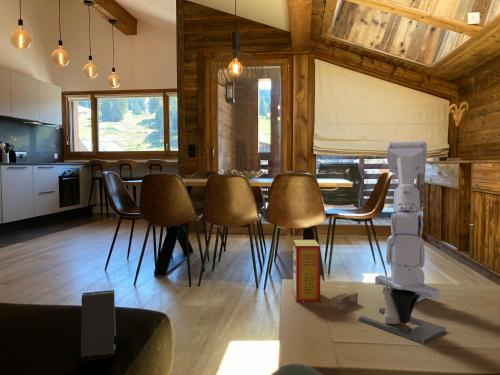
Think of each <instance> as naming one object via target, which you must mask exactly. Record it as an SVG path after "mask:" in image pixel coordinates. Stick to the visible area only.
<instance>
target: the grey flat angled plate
mask: <svg viewBox="0 0 500 375" xmlns="http://www.w3.org/2000/svg"><path fill="white" fill-rule="evenodd" d="M385 311H386V307H380V308H379V309H378V313H381V314H385ZM358 321H359V322H362V323H365V324H367V325H370V326H373V327H375V328H378V329H381V330H384V331H386V332H389V333H393V334H395V335H398V336H401V337H402V338H406V339H408V340H411V341H415V342H416V343H420V344H422V345H426V344H427V343H429V342H430V341H432V340H435V339H436V338H437V337H439V336H440V335H443V334H444V333H446V332H447V327H446V326H445V327H444V326H443V325H442V326H441V325H438V324H435V323H432V322H429V321H425V320H423V319H420V318H416V317H413V316H411V317H410V321H409V322H408V323H412V324H415V325H417V326H416V327H414V328H412V329H409V331H407V330H403V329H400V328H398V327H395V326H392V325H391V324H388V323H384V322H381V321H379V320H376V319H373V318H369V317H367V316H364V315H360V316H359V317H358Z"/></svg>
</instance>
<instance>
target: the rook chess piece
mask: <svg viewBox="0 0 500 375" xmlns="http://www.w3.org/2000/svg"><path fill="white" fill-rule="evenodd" d="M392 291H393V288H391V287H387V286H383V288H382V292H381V293H382V294H383V295H384V300H385V309H386V311H385V314H384V313H383V314H384V315H383V317H384V320H383V321H384V322H385V324H387V325H399V324H402V323H401V320H400V316H399V312H398V309H397V306H396V304H395V302H394V300H393V298H392V296H391V292H392Z"/></svg>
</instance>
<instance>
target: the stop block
mask: <svg viewBox="0 0 500 375" xmlns="http://www.w3.org/2000/svg"><path fill="white" fill-rule="evenodd" d="M358 296H359V293H358V292H356V291H352V290H351V291H347V292H345V293H342V294H338V295H336V296H333V297H330V310H332V311H334V312H339V311H342V310H346V309H348V308H350V307H353V306H355V305H358V303H359V297H358Z"/></svg>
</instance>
